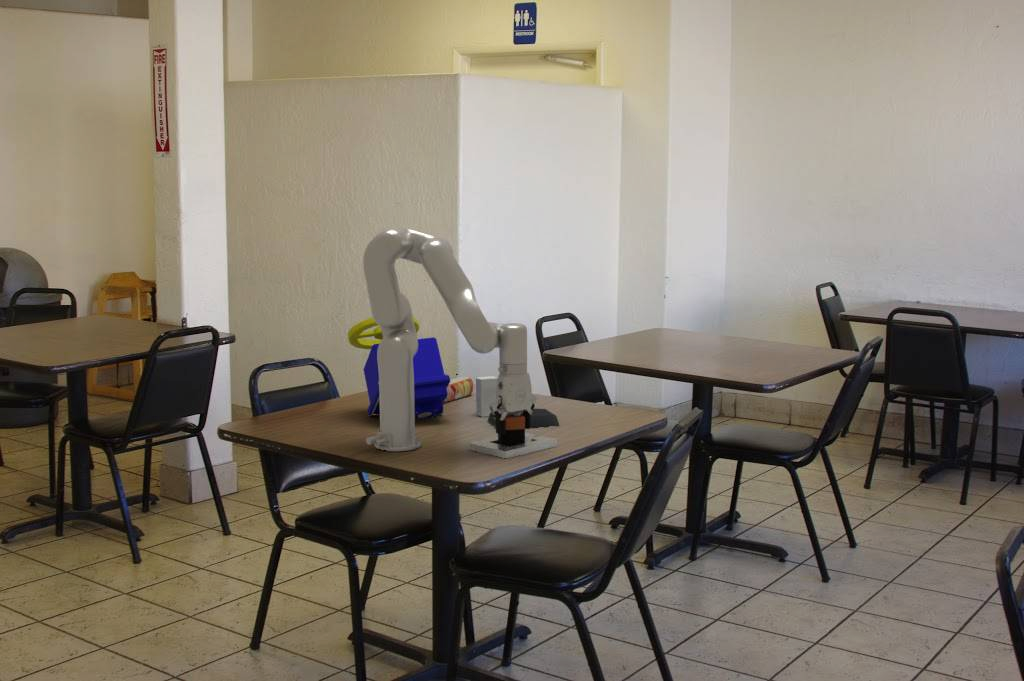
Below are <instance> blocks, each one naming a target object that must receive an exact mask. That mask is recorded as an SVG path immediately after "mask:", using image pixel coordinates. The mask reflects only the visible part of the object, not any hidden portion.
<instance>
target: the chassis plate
mask: <svg viewBox="0 0 1024 681" xmlns="http://www.w3.org/2000/svg"><path fill="white" fill-rule="evenodd" d="M468 445H469V446H468V449H469V451H471V450H473V451H472V452H475V451H477V452H476V453H479V452H481V453H480V454H483V453H485V454H484V455H487V454H490V455H489V456H491V455H495V456H494V457H496V456H499V457H498V458H500V457H502V458H501V459H504V458H507V459H511V458H514V457H515V456H516V457H519V455H520V456H523V455H524V456H525V455H527V454H532V453H536V452H539V451H543V450H548V449H551V448H552V449H553V448H555V447H557V446H558V439H557V438H553V437H548V436H544V435H543V436H542V435H541V436H537V437H535V434H534V433H528V432H525V443H524V444H519V445H515V446H511V447H508V446H504V445H500V444H498V436H494V437H490V438H485V439H481V440H475V441H471V442H469V443H468Z"/></svg>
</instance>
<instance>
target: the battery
mask: <svg viewBox="0 0 1024 681" xmlns="http://www.w3.org/2000/svg"><path fill="white" fill-rule="evenodd" d="M513 413H514V414H508V413H507V414H506V416H505V418H504V420H505V421H506V434H505V435H502V434H497V437H498V444H500V445H504V446H508V447H511V446H515V445H519V444H524V443H525V433H526V429H525V417H524V416H523V415H522V414H521V412H513Z"/></svg>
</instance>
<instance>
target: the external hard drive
mask: <svg viewBox="0 0 1024 681" xmlns="http://www.w3.org/2000/svg"><path fill="white" fill-rule="evenodd" d="M518 412H521V413H523V412H522V411H518ZM507 413H508V414H514V413H509V412H507ZM500 414H502V412H501V413H500ZM530 415H531V429H540V428H539V427H544V428H550V427H549V426H556V427H560V423H559V420H558V416H557V415H556V414H554V413H552V412H551V411H549V410H548V409H546V408H534V409H533V410H532V414H530ZM486 422H487V423H488V424H489V425H490V424H491V425H490V426H491V427H493V426H494V427H495V428H494V427H493V428H494V429H496V419H494V416H493V415H492V414H491V413H490V415H489V416H488V418H487V421H486Z"/></svg>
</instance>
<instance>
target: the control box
mask: <svg viewBox="0 0 1024 681" xmlns="http://www.w3.org/2000/svg"><path fill="white" fill-rule="evenodd" d="M413 320H414V324H415V329H416V334H418V332H419V330H420V326H419V325H420V324H419V321H418V320H417V318H416V317H415V316H413ZM372 328H373V330H369V329H372ZM366 330H368V331H366ZM370 337H371V338H372V337H374V339H364V338H370ZM347 338H348V343H349V344H350V346H353V347H354V348H357V349H363V350H370V351H369V354H368V356H367V360H366V362H365V364H364V367H363V374H364V379H365V384H366V389H367V394H368V399H369V400H368V401H369V405H368V406H367V415H368V414H369V415H373V414H380V394H379V371H378V361H377V351H378V346H379V344H380V342H381V340H382V339H383V335H382V330H381V327H380V326H379V325H377V324H376V322H375V321H374V319H373V316H372V317H369V318H365V319H364V320H363V319H362V320H361V321H359V322H358V323H356V324H354V325H353V326H352V327H351V328H350V329H349V330H348V332H347ZM417 339H418V350H417V353H416V355H415V356H414V357H413V371H414V401H415V421H416V420H420V419H436V417H438V416H437V415H440V414H443V413H444V403H443V402H444V400H445V398H446V397H447V395H448V393H447V387H448V385H449V383H450V380H451V377H450V375H449V374H448V373H445V371H444V366H443V362H442V358H441V355H440V354H441V353H440V349H439V345H438V341H437V338H436V337H433V336H432V337H425V338H423V337H422V336H420V337H417ZM369 415H368V416H369Z"/></svg>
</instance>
